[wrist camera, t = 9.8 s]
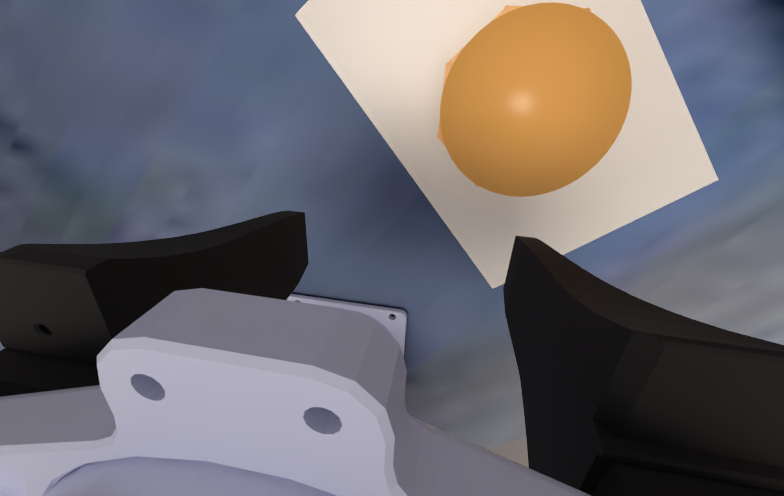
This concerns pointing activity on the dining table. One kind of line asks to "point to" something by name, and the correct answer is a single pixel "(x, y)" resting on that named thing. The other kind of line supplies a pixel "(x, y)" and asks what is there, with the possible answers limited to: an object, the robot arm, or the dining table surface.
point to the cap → (535, 99)
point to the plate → (432, 161)
